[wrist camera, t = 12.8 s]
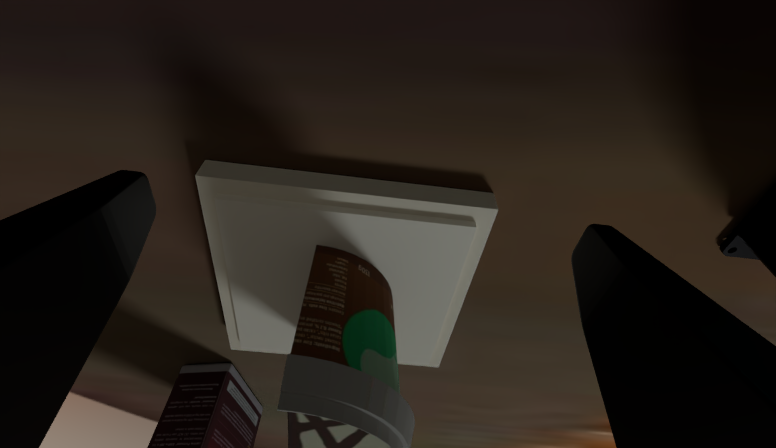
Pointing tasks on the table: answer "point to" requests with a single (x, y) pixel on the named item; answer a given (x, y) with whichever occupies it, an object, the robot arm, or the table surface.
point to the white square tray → (342, 231)
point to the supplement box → (208, 410)
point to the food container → (345, 360)
